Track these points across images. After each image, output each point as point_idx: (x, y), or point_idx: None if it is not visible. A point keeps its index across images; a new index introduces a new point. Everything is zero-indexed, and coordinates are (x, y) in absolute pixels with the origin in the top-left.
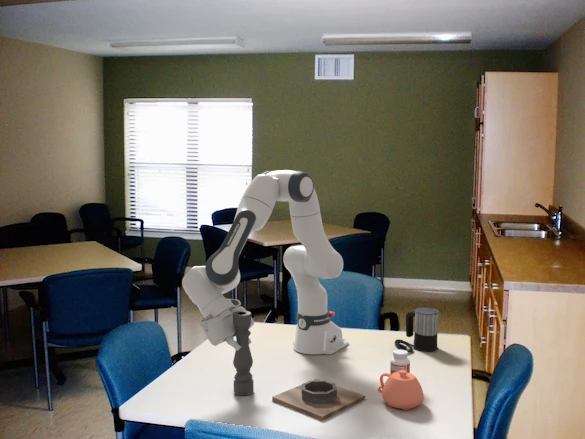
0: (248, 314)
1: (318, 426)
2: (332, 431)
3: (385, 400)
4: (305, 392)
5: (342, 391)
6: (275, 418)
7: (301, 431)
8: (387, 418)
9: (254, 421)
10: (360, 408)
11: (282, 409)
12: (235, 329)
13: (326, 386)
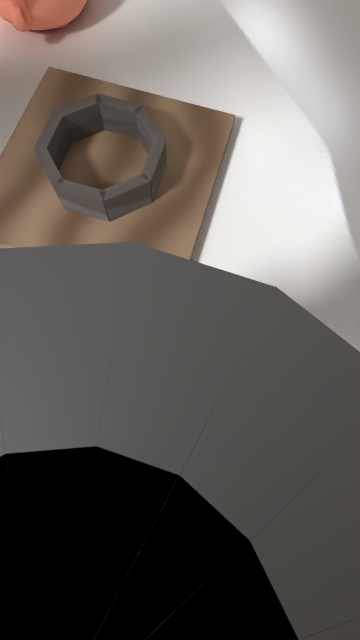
0: (114, 284)
1: (267, 122)
2: (273, 88)
3: (77, 7)
4: (155, 171)
5: (41, 125)
6: (286, 233)
7: (315, 146)
8: (143, 13)
9: (337, 276)
10: (115, 73)
11: (221, 242)
12: None
13: (56, 149)
